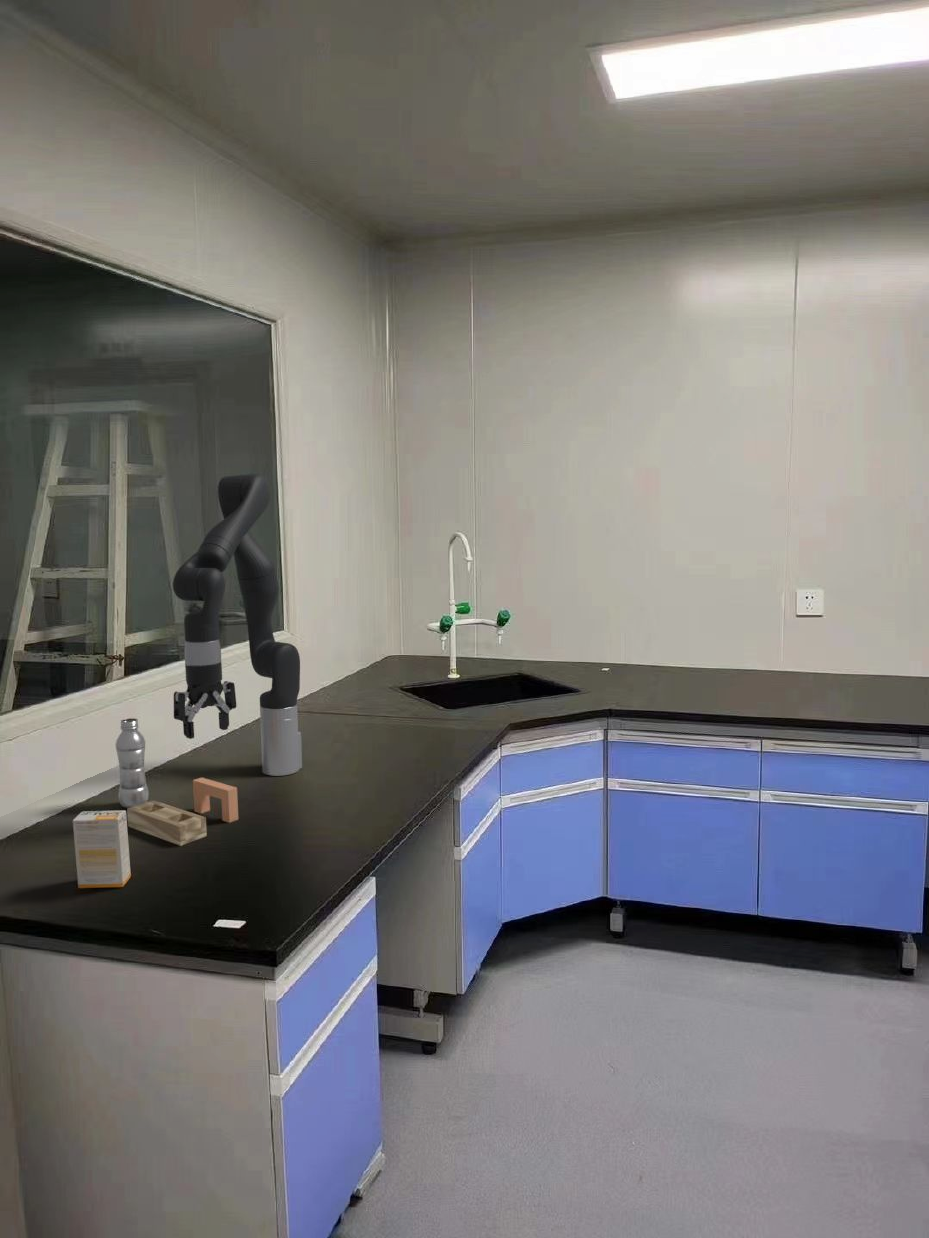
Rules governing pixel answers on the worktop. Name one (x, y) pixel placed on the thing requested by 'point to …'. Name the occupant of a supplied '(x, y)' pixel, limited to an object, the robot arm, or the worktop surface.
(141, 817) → the rail
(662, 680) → the worktop surface
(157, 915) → the worktop surface
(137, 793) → the metal bottle
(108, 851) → the supplement box
